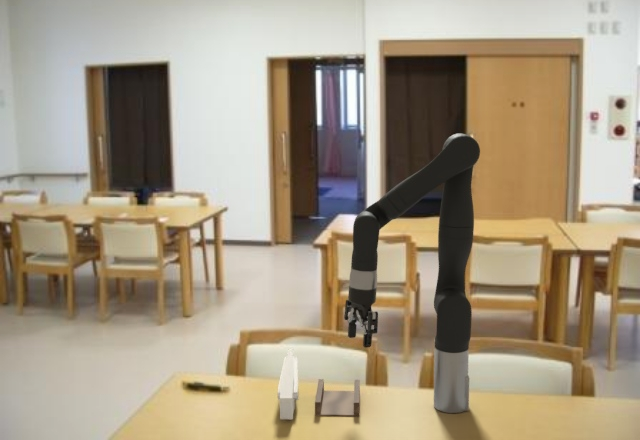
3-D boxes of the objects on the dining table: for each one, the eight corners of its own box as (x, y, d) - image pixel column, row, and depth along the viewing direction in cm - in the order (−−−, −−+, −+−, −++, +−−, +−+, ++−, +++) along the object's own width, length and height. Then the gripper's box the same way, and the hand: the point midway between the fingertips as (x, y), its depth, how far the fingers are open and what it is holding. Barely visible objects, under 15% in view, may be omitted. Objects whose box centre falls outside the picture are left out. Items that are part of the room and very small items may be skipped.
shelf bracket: (301, 385, 217) (300, 349, 212) (297, 439, 194) (296, 400, 189) (283, 385, 217) (281, 349, 213) (277, 439, 194) (275, 400, 189)
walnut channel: (359, 392, 211) (359, 379, 210) (359, 416, 195) (359, 402, 195) (318, 391, 212) (318, 379, 211) (315, 415, 196) (314, 402, 195)
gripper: (388, 290, 192) (384, 349, 194) (361, 277, 204) (358, 333, 207) (363, 292, 188) (360, 352, 191) (338, 279, 201) (335, 335, 204)
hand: (359, 342), depth 199 cm, fingers open, 8 cm apart
